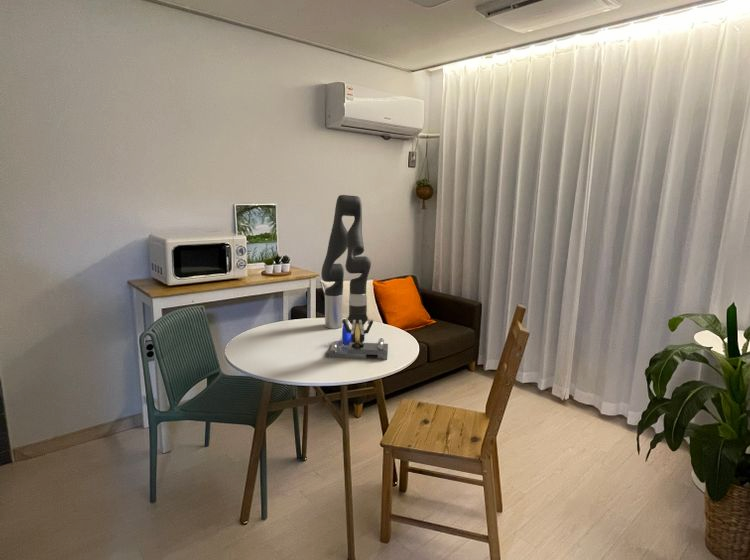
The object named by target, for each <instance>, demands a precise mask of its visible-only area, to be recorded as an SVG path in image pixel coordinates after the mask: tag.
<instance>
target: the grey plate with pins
mask: <svg viewBox="0 0 750 560" xmlns="http://www.w3.org/2000/svg"><path fill="white" fill-rule="evenodd" d="M377 341H378V342H376V343H375V342H363V343H361V348H354V343H353V342H350V343H349V345H339V344H340V342H339V341H338V340H334V341H333V343H332V345H329V347H328V348H327V349H326V352H325V358H331V359H332V358H334V359H335V358H336V359H360V360H361V359H363V360H366V359H367V356H368V355H375V356H377V360H382V359H383V360H384V359H385V360H388V354H389V343H385V339H384V338H379V339H378V340H377Z"/></svg>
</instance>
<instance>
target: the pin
mask: <svg viewBox="0 0 750 560" xmlns="http://www.w3.org/2000/svg"><path fill="white" fill-rule="evenodd" d="M354 348H361V330H360V324H359V323H355V329H354Z"/></svg>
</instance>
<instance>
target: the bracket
mask: <svg viewBox="0 0 750 560" xmlns="http://www.w3.org/2000/svg"><path fill="white" fill-rule="evenodd" d="M347 324H348V326H349V327H350V325H349V323H347ZM341 329H342V331H341V333H342V334H341V345H342V344H344V345H343V346H348V345H349V343H350V342H353V341H351V334H350V333H347V331H346V329H345V327H344V325H343V326H342V327H341Z"/></svg>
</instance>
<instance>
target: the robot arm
mask: <svg viewBox="0 0 750 560" xmlns="http://www.w3.org/2000/svg"><path fill="white" fill-rule="evenodd" d="M362 206H363V204H362V200H361V197H359V196H357V195H348V194H347V195H346V194H340V195H338V197H337V199H336V203H335V207H334V217H333V222H332V227H331V231H330V236H329V240H328V246H327V250H326V254H325V257H324V261H323V264H322V267H321V279H322V280H323V282H326V283H331V282H332V283H333V282H334V283H333V284H332V285H330V286H328V287H326V288H325V289H324V327H325V328H327V329H340V328H343V325H344V327H345V329H346V331H347V333H350V334H351V341H353V343H354V329H355V323H359V324H360V330H361V343H365V336H366V334H368V333H369V332H370V330H371V327H372V325H373V324H374V319H370V318H368V314H367V312H368V305H367V304H368V297H367V296H368V295H367V281H368V277H369V274H370V271H371V267H372V263H371V259H370V257H368V256H361V255H362V254H363V253H364V251H365V246H364V239H363V209H362V208H363V207H362ZM344 216H345V217H354V220H353V223H352V224H351V226H350V228H349V229H348V230H347V228H346V226H345V225H344V221H343V217H344ZM346 250H347V255H346V259H345V260H346V261H345V265H344V266H345V270H346V271H347V273H349V274H360V275H359V276H358V277H355V278H351V280H350V281H349V296H348V297H349V298H348V317H347V318H343V317H344V315H343V314H344V312H343V309H344V308H343V307H344V305H343V304H344V303H343V299H344V298H343V294H344V278H345V276H344V275H345V272H344V271H345V270H344V266H343V265H342V264H341V263H335V262H336V261H337V260H338V259H339V258H340V257H341V256H343V254H345V252H346ZM349 323H350V324H351V329H350V325H349V326H348V324H349ZM366 323H367V324H368V326H367V327H366V329H365V326H364V325H365V324H366Z"/></svg>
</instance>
